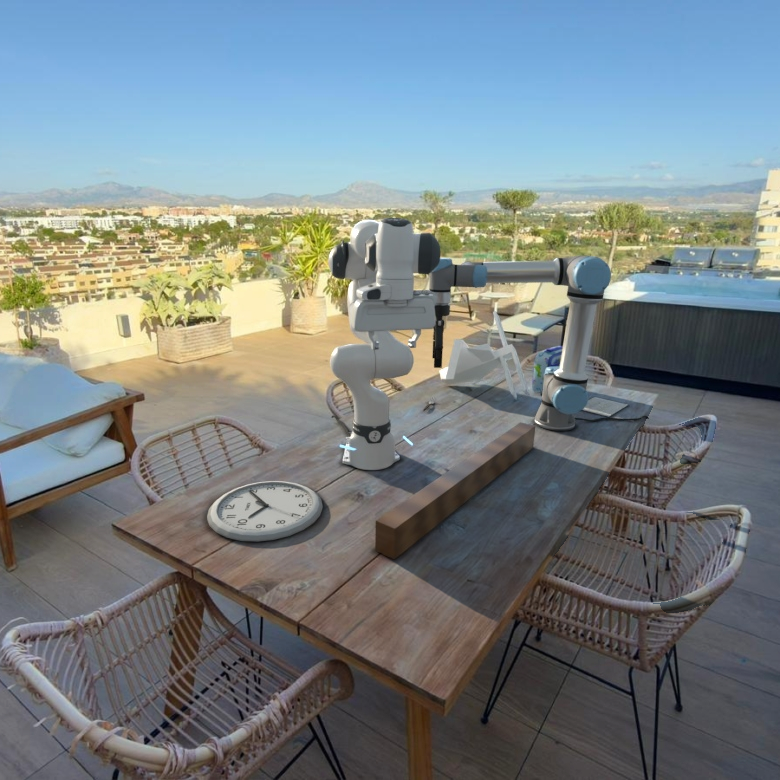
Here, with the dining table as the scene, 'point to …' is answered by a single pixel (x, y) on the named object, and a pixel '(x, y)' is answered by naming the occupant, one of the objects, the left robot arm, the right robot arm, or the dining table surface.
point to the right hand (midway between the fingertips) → (436, 362)
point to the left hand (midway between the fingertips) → (393, 348)
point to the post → (449, 491)
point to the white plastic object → (482, 362)
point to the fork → (430, 403)
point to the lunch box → (545, 365)
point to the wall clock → (264, 511)
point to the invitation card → (603, 406)
